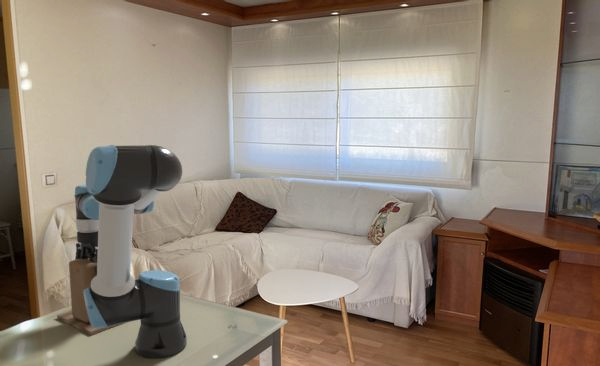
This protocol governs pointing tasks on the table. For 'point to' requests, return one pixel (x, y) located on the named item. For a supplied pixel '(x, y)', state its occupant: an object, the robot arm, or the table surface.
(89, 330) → the board
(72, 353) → the table surface
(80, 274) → the wooden block
